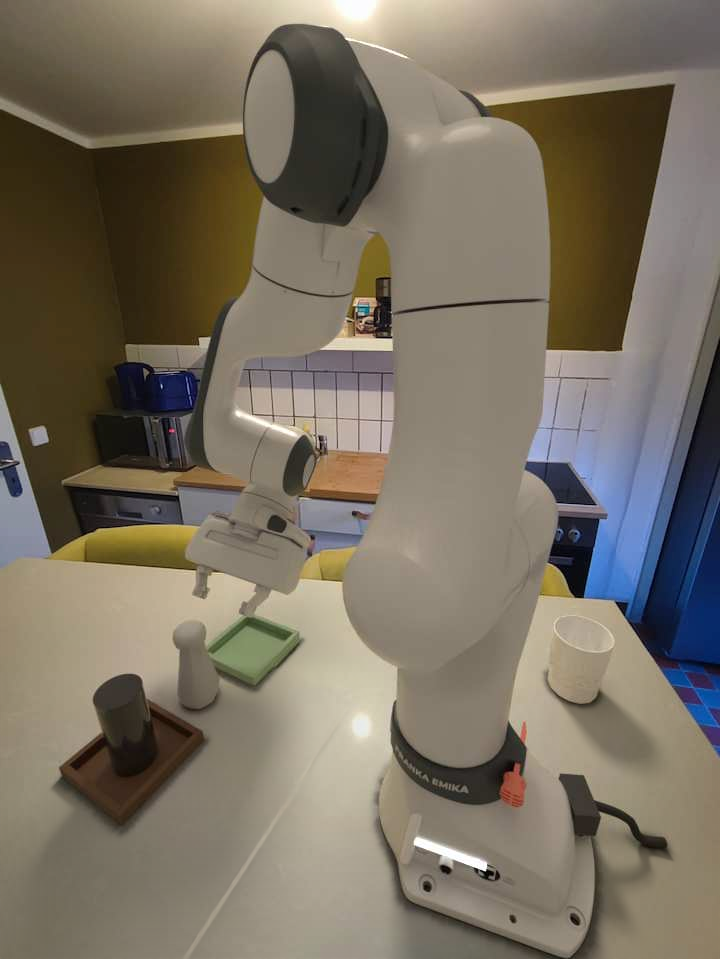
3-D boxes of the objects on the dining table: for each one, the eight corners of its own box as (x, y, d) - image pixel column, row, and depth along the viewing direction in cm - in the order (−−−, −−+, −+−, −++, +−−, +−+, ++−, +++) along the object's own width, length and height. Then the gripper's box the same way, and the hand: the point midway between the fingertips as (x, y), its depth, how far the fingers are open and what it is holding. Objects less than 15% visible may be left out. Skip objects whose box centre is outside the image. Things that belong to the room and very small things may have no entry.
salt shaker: (208, 719, 60) (195, 645, 55) (171, 713, 61) (155, 639, 56) (228, 686, 65) (218, 616, 61) (194, 681, 66) (181, 611, 62)
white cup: (607, 684, 65) (621, 631, 61) (591, 718, 60) (605, 661, 56) (554, 658, 70) (564, 607, 67) (535, 687, 65) (544, 633, 61)
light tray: (300, 641, 74) (299, 631, 73) (255, 689, 65) (253, 678, 64) (248, 620, 79) (247, 611, 79) (200, 662, 70) (198, 652, 69)
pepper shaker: (167, 748, 55) (152, 683, 51) (130, 785, 51) (110, 716, 47) (140, 731, 57) (124, 667, 53) (103, 765, 53) (82, 698, 49)
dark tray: (204, 742, 56) (202, 730, 56) (123, 829, 47) (119, 816, 46) (146, 707, 62) (144, 696, 61) (62, 779, 52) (58, 767, 51)
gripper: (199, 501, 70) (158, 582, 66) (301, 527, 61) (262, 623, 56) (222, 515, 75) (186, 591, 71) (320, 541, 66) (285, 630, 62)
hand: (220, 606), depth 64 cm, fingers open, 8 cm apart
